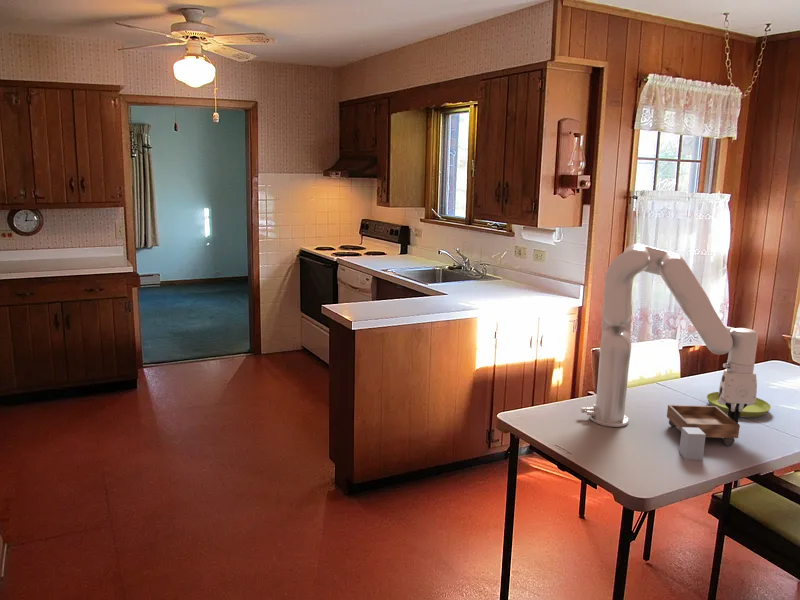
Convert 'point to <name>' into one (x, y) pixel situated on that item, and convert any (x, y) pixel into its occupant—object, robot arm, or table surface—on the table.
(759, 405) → the saucer
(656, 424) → the table surface
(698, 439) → the block
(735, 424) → the cart
